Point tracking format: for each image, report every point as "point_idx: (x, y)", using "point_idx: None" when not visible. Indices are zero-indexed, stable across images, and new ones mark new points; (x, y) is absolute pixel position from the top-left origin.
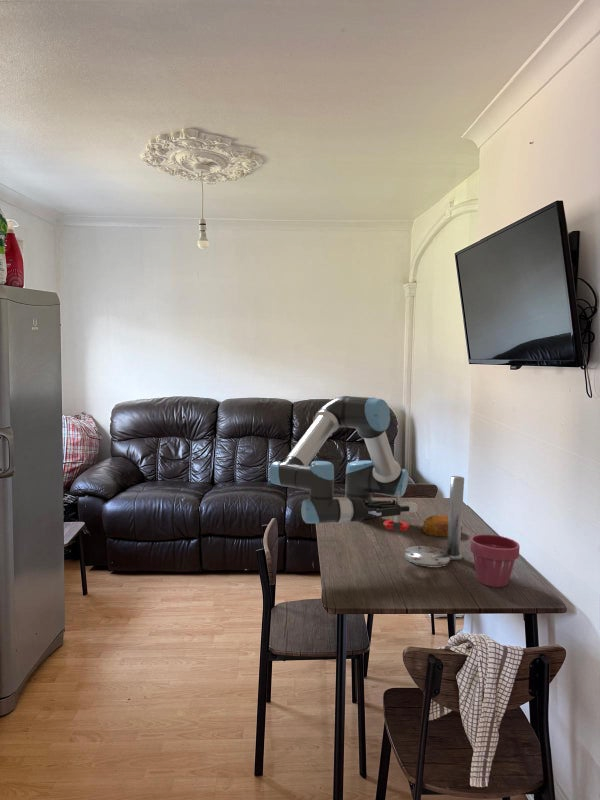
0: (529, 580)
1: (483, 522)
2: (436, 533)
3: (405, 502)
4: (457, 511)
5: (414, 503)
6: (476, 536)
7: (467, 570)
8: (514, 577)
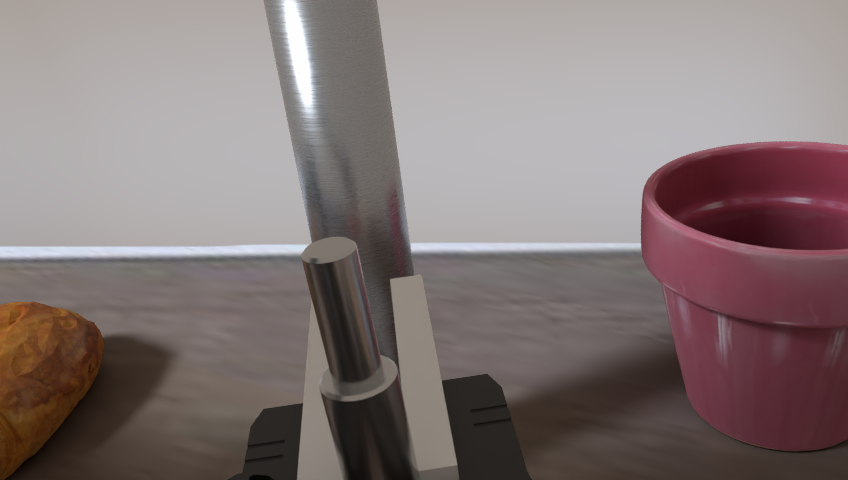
0: None
1: (10, 262)
2: (41, 440)
3: (325, 368)
4: (399, 175)
5: (397, 294)
6: (696, 231)
7: (622, 457)
8: None
